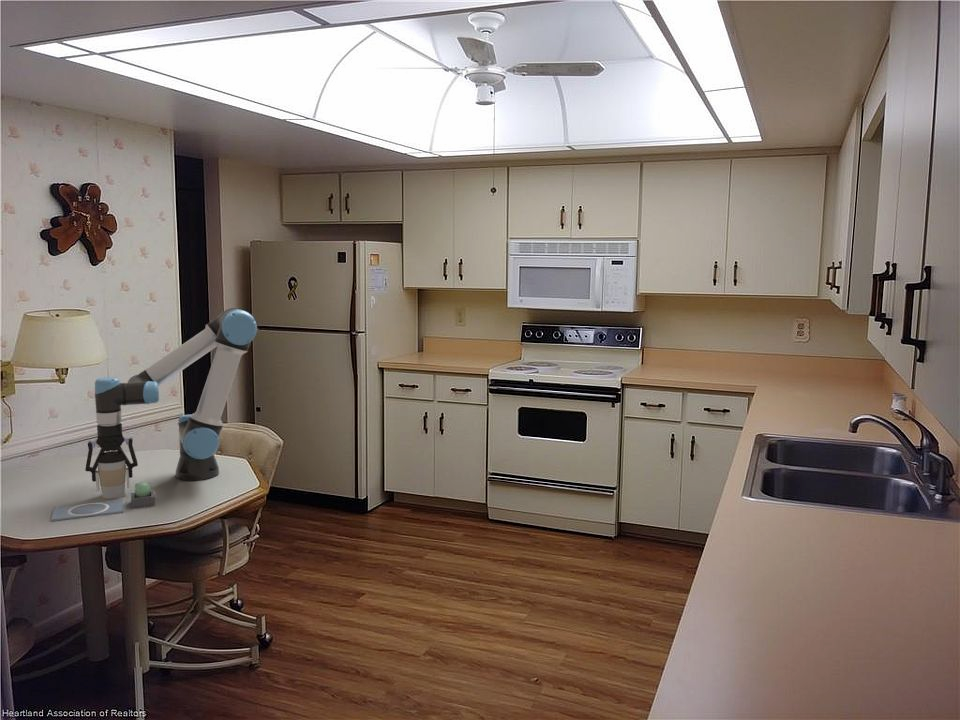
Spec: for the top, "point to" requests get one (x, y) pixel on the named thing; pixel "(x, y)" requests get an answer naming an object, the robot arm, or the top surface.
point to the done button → (142, 489)
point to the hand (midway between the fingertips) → (113, 488)
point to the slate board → (87, 510)
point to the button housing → (142, 500)
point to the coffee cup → (112, 474)
